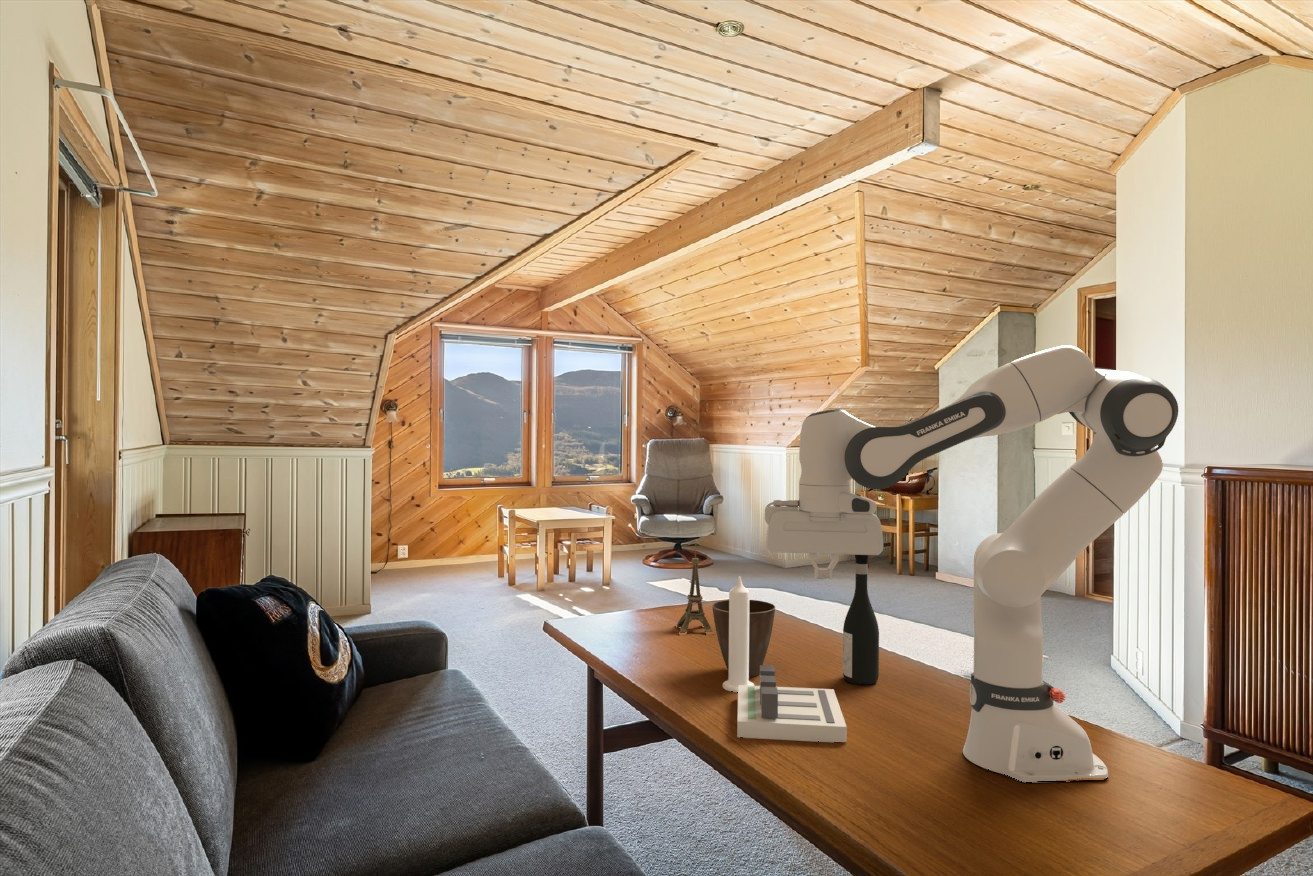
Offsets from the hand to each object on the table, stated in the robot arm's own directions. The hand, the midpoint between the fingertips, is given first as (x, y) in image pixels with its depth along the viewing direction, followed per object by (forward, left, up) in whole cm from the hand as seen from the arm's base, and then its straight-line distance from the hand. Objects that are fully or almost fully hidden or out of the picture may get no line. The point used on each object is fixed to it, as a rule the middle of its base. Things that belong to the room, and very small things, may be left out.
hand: (823, 578), depth 136 cm
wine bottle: (-13, -43, -31) cm, 55 cm away
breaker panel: (+5, -16, -31) cm, 35 cm away
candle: (+15, -34, -31) cm, 49 cm away
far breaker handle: (+9, -23, -28) cm, 37 cm away
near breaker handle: (+9, -9, -28) cm, 30 cm away
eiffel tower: (+28, -83, -31) cm, 93 cm away
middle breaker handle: (+9, -16, -28) cm, 33 cm away
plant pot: (+14, -45, -31) cm, 57 cm away
